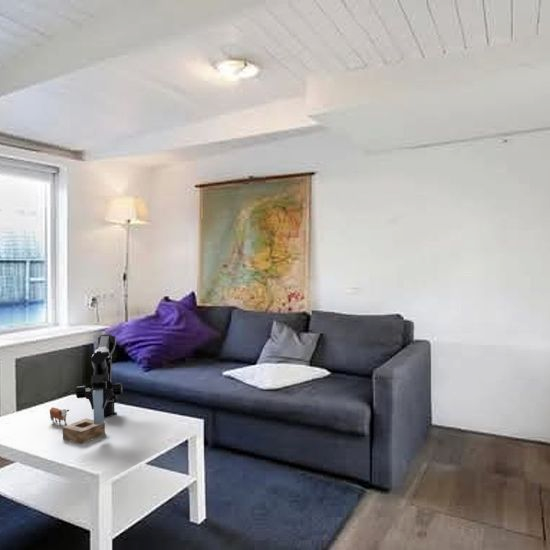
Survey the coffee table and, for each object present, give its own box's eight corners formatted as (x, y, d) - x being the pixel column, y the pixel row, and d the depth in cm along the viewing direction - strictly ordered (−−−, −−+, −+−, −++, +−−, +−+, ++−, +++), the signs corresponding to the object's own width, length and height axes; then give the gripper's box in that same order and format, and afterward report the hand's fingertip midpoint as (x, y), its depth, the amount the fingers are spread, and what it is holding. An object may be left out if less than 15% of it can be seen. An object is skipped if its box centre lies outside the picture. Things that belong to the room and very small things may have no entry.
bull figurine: (62, 428, 208) (62, 411, 208) (48, 422, 216) (47, 405, 216) (71, 425, 212) (71, 408, 211) (57, 420, 220) (56, 403, 219)
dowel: (100, 420, 198) (99, 388, 197) (105, 422, 196) (104, 390, 195) (92, 423, 195) (90, 390, 194) (97, 425, 192) (95, 392, 192)
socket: (86, 429, 207) (86, 418, 206) (105, 433, 201) (104, 422, 201) (62, 438, 196) (62, 427, 196) (81, 443, 190) (81, 431, 190)
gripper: (75, 368, 196) (71, 401, 186) (120, 365, 200) (119, 397, 190) (78, 381, 204) (75, 414, 194) (122, 378, 208) (121, 409, 198)
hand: (97, 408), depth 194 cm, fingers closed on dowel, 4 cm apart
